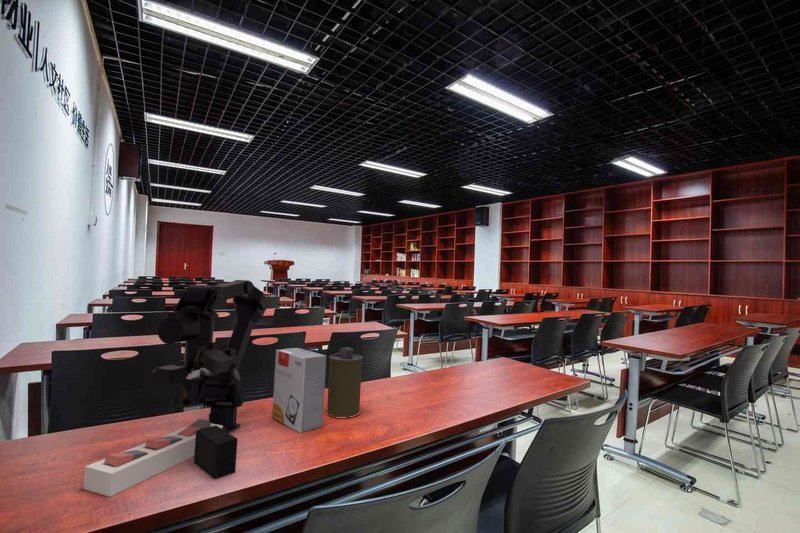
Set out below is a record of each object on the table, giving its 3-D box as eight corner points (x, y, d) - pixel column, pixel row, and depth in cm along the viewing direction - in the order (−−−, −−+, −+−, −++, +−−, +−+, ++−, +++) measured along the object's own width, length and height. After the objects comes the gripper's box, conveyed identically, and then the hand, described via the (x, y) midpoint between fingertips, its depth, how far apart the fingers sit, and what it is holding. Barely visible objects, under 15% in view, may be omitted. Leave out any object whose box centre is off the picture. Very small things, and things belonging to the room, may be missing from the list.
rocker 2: (169, 442, 83) (171, 436, 84) (180, 445, 82) (182, 438, 83) (145, 446, 78) (147, 438, 78) (156, 448, 77) (158, 441, 77)
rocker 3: (200, 424, 91) (199, 418, 91) (210, 426, 90) (209, 420, 90) (178, 439, 85) (177, 433, 85) (189, 441, 84) (188, 435, 84)
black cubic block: (241, 470, 78) (243, 436, 78) (214, 480, 74) (217, 443, 74) (219, 455, 84) (221, 423, 85) (193, 462, 80) (196, 429, 81)
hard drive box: (270, 418, 109) (274, 349, 110) (294, 412, 114) (297, 347, 116) (300, 434, 98) (304, 357, 99) (324, 427, 104) (327, 354, 105)
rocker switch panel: (209, 433, 96) (210, 417, 96) (231, 437, 94) (232, 421, 94) (83, 488, 69) (85, 466, 69) (109, 496, 66) (111, 473, 67)
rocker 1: (134, 457, 76) (136, 450, 76) (145, 460, 75) (147, 452, 75) (104, 462, 70) (106, 454, 71) (116, 465, 69) (118, 457, 70)
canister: (366, 414, 115) (369, 349, 116) (337, 421, 108) (340, 351, 110) (348, 405, 123) (350, 344, 125) (319, 411, 117) (322, 346, 118)
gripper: (192, 346, 77) (186, 423, 76) (254, 336, 95) (250, 399, 94) (152, 342, 81) (147, 415, 80) (219, 333, 98) (215, 393, 97)
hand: (194, 405), depth 87 cm, fingers closed
